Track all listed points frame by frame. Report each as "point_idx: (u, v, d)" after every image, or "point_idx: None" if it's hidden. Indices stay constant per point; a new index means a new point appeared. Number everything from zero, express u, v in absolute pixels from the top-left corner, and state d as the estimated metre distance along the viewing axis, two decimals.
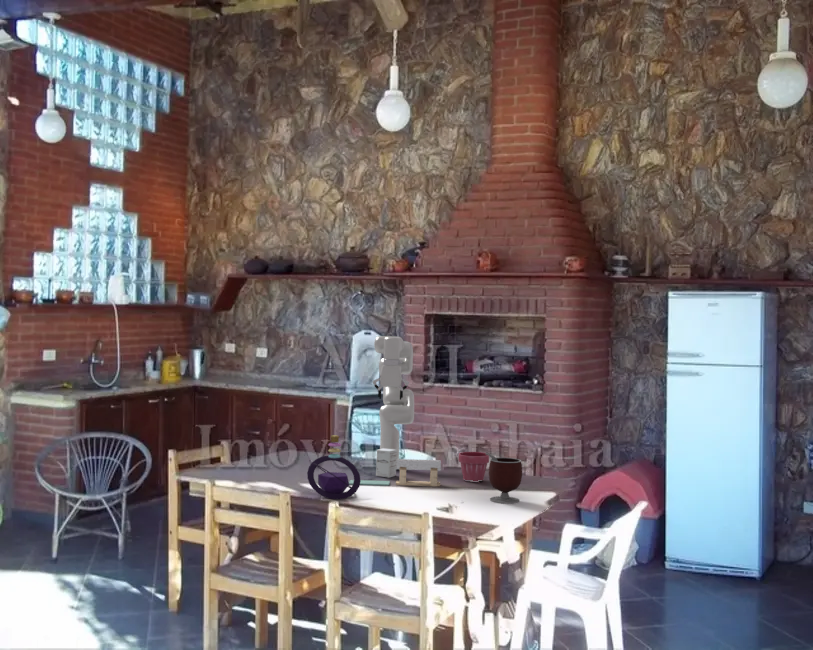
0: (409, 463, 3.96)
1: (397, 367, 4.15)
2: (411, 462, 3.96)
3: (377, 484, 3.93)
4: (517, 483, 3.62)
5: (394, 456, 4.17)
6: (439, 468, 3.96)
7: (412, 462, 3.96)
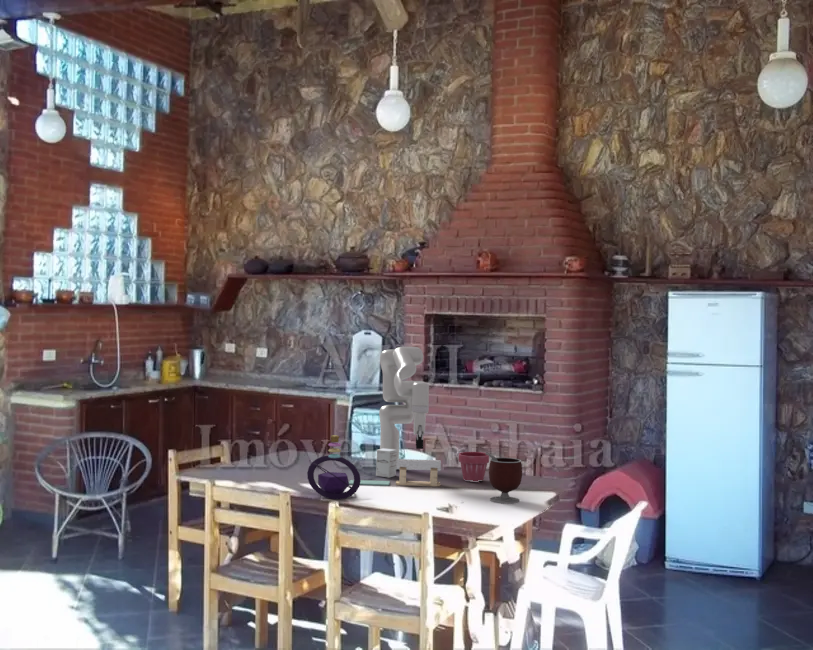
0: (409, 463, 3.96)
1: None
2: (411, 462, 3.96)
3: (377, 484, 3.93)
4: (517, 483, 3.62)
5: (394, 456, 4.17)
6: (439, 468, 3.96)
7: (412, 462, 3.96)
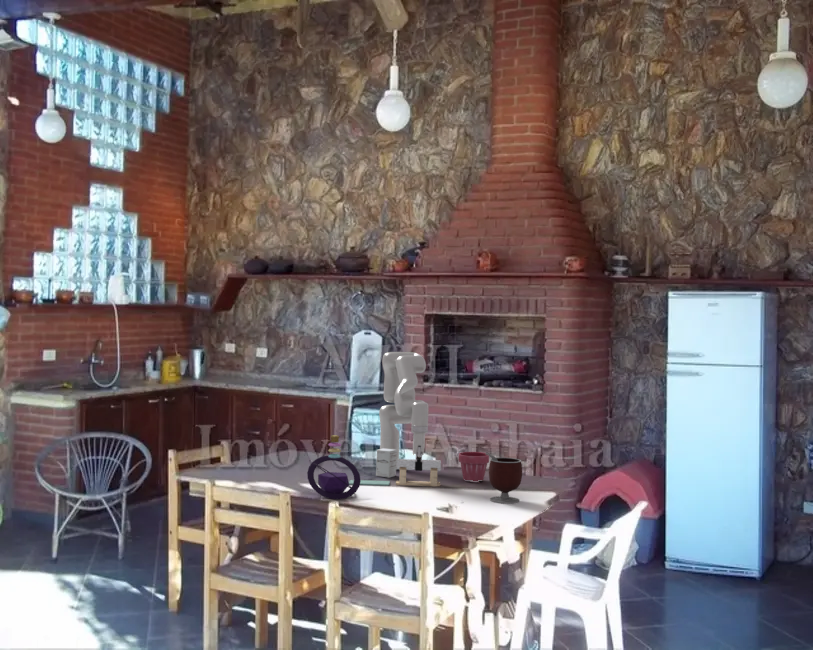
0: (409, 463, 3.96)
1: None
2: (411, 462, 3.96)
3: (377, 484, 3.93)
4: (517, 483, 3.62)
5: (394, 456, 4.17)
6: (439, 468, 3.96)
7: (412, 462, 3.96)
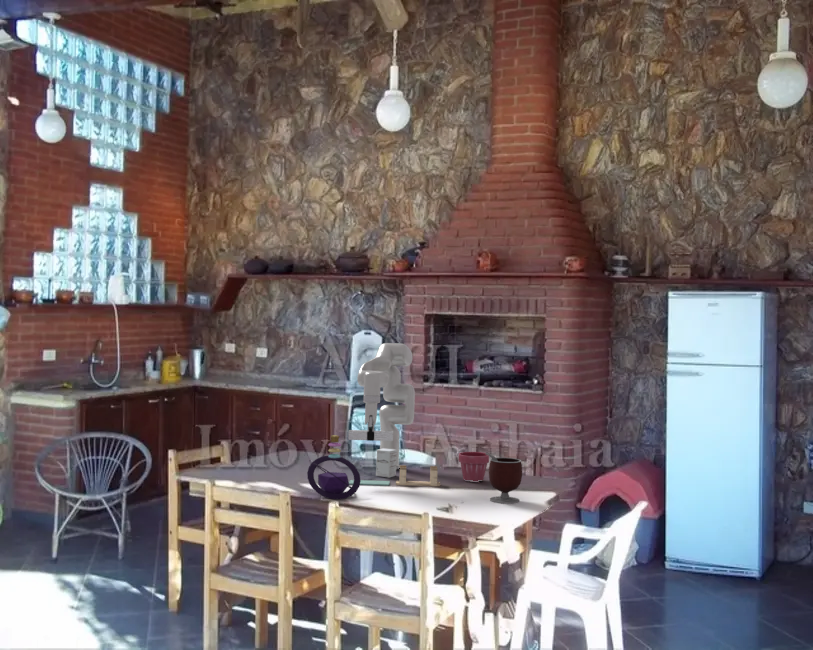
0: (361, 434, 3.95)
1: None
2: (363, 433, 3.95)
3: (377, 484, 3.93)
4: (517, 483, 3.62)
5: (394, 456, 4.17)
6: (391, 439, 3.95)
7: (364, 433, 3.95)
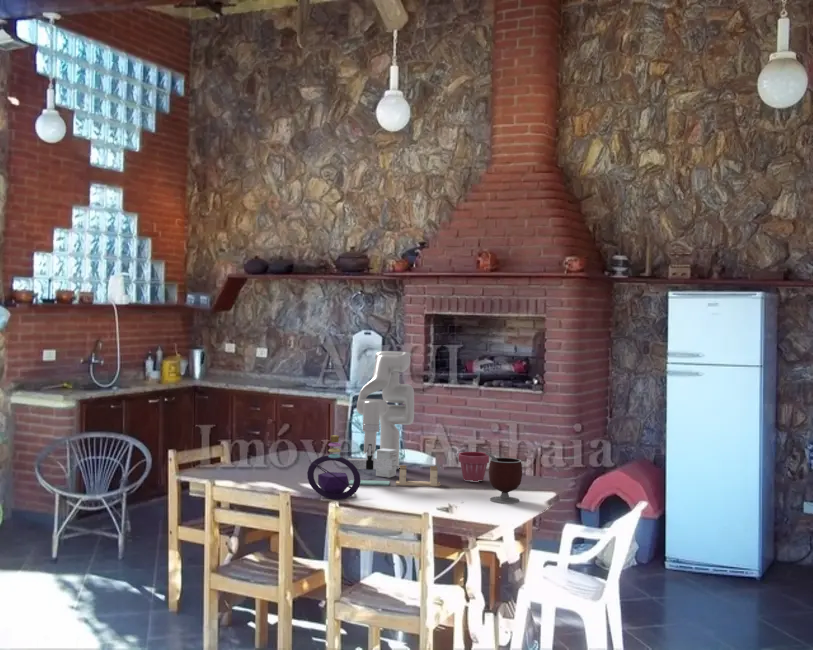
0: (360, 463, 3.95)
1: None
2: (362, 461, 3.95)
3: (377, 484, 3.93)
4: (517, 483, 3.62)
5: (394, 456, 4.17)
6: (390, 467, 3.95)
7: (363, 461, 3.95)
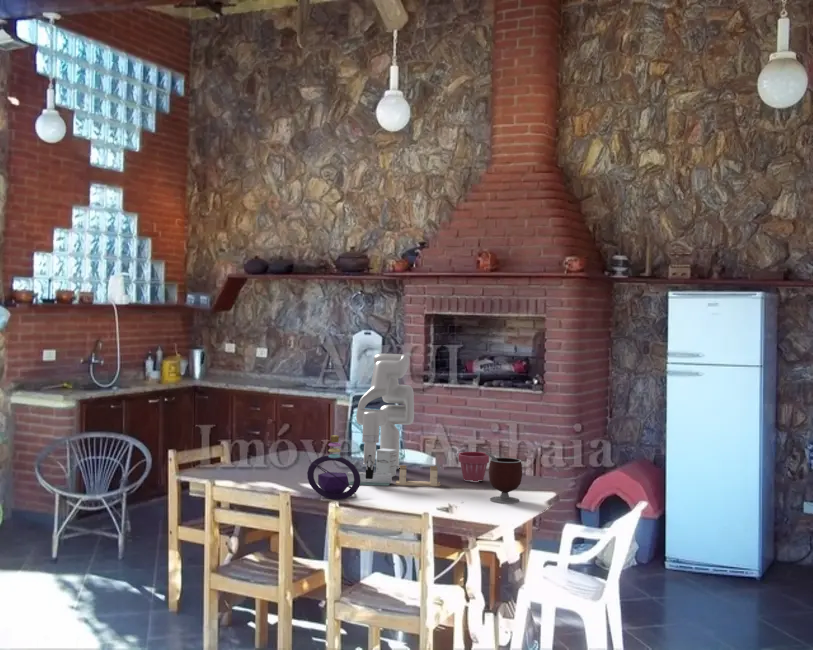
0: (360, 476, 3.96)
1: None
2: (362, 475, 3.96)
3: (377, 484, 3.93)
4: (517, 483, 3.62)
5: (394, 456, 4.17)
6: (390, 481, 3.96)
7: (363, 475, 3.96)
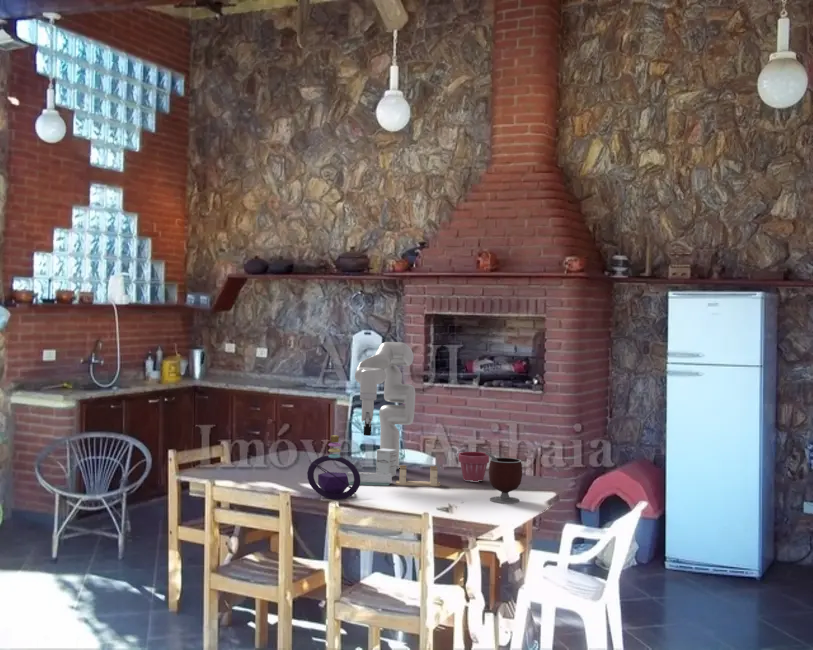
0: (360, 476, 3.96)
1: None
2: (362, 475, 3.96)
3: (377, 484, 3.93)
4: (517, 483, 3.62)
5: (394, 456, 4.17)
6: (390, 481, 3.96)
7: (363, 475, 3.96)
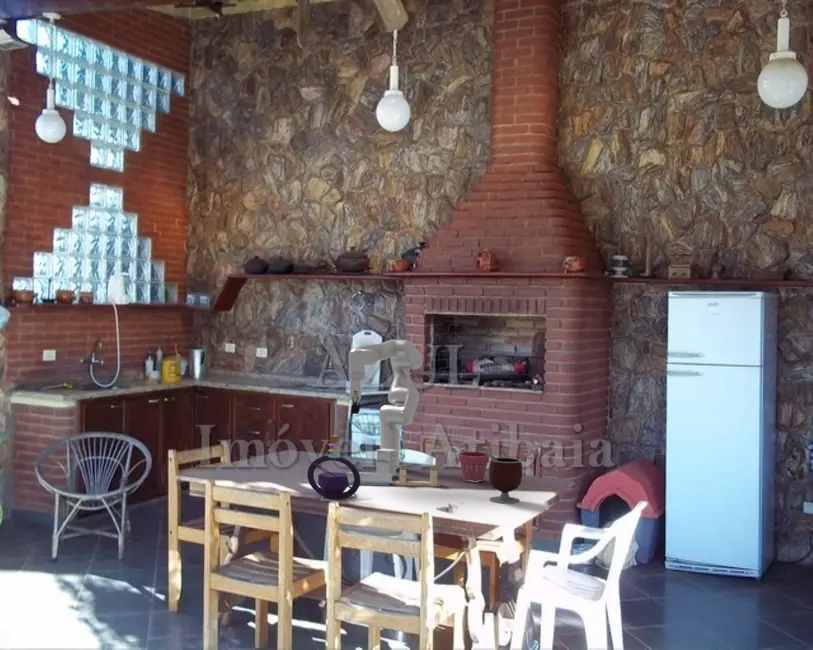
0: (360, 476, 3.96)
1: None
2: (362, 475, 3.96)
3: (377, 484, 3.93)
4: (517, 483, 3.62)
5: (394, 456, 4.17)
6: (390, 481, 3.96)
7: (363, 475, 3.96)
